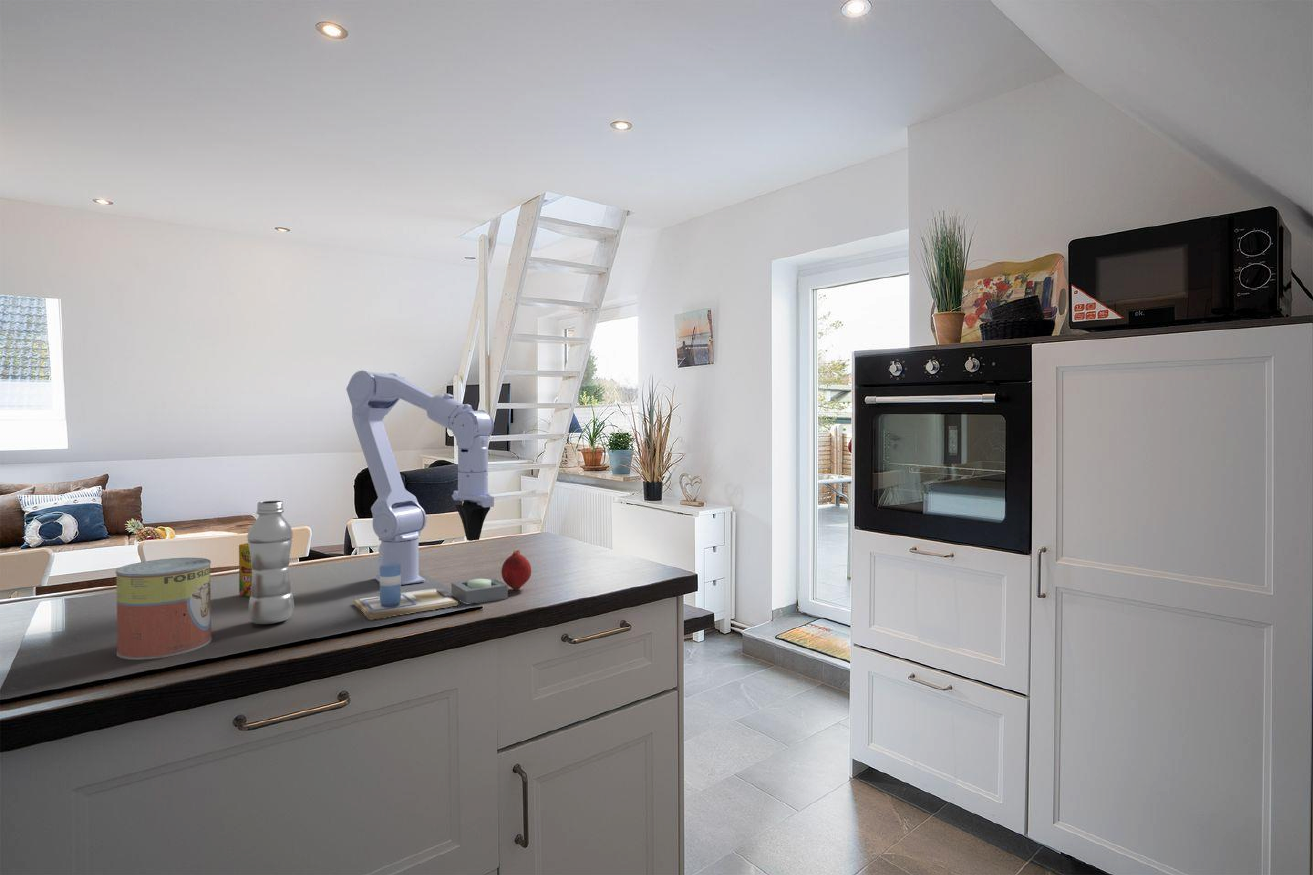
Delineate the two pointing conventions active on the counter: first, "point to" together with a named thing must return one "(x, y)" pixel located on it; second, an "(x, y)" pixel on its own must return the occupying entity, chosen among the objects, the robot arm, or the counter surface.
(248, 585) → the crayon box
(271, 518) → the plastic bottle
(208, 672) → the counter surface
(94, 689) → the counter surface
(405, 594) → the beige tray
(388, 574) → the blue capped bottle
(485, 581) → the button
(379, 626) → the counter surface
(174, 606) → the canned food
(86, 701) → the counter surface
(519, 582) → the onion
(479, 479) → the robot arm
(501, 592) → the button pad
